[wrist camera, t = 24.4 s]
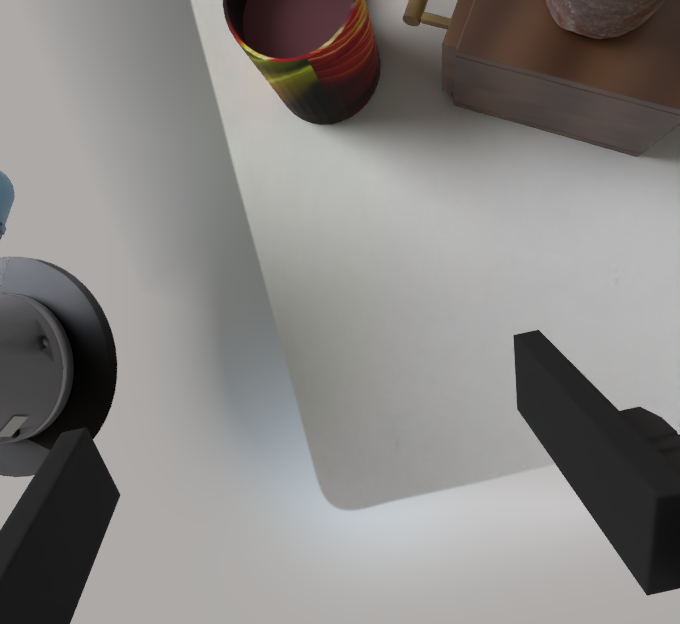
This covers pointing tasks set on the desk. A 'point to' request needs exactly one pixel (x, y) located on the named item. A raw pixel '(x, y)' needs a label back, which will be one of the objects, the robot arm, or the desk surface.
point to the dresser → (571, 74)
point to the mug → (310, 52)
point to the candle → (602, 15)
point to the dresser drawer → (452, 37)
